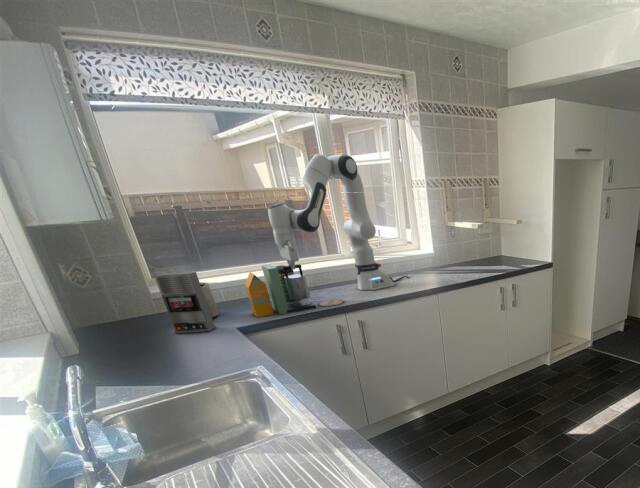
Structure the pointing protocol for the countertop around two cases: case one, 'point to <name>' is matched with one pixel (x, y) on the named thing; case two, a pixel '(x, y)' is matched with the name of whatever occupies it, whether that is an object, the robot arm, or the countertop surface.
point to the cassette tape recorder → (185, 302)
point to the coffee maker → (281, 293)
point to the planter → (210, 300)
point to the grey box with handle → (296, 284)
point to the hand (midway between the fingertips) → (292, 268)
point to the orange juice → (258, 296)
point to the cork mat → (331, 303)
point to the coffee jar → (282, 275)
